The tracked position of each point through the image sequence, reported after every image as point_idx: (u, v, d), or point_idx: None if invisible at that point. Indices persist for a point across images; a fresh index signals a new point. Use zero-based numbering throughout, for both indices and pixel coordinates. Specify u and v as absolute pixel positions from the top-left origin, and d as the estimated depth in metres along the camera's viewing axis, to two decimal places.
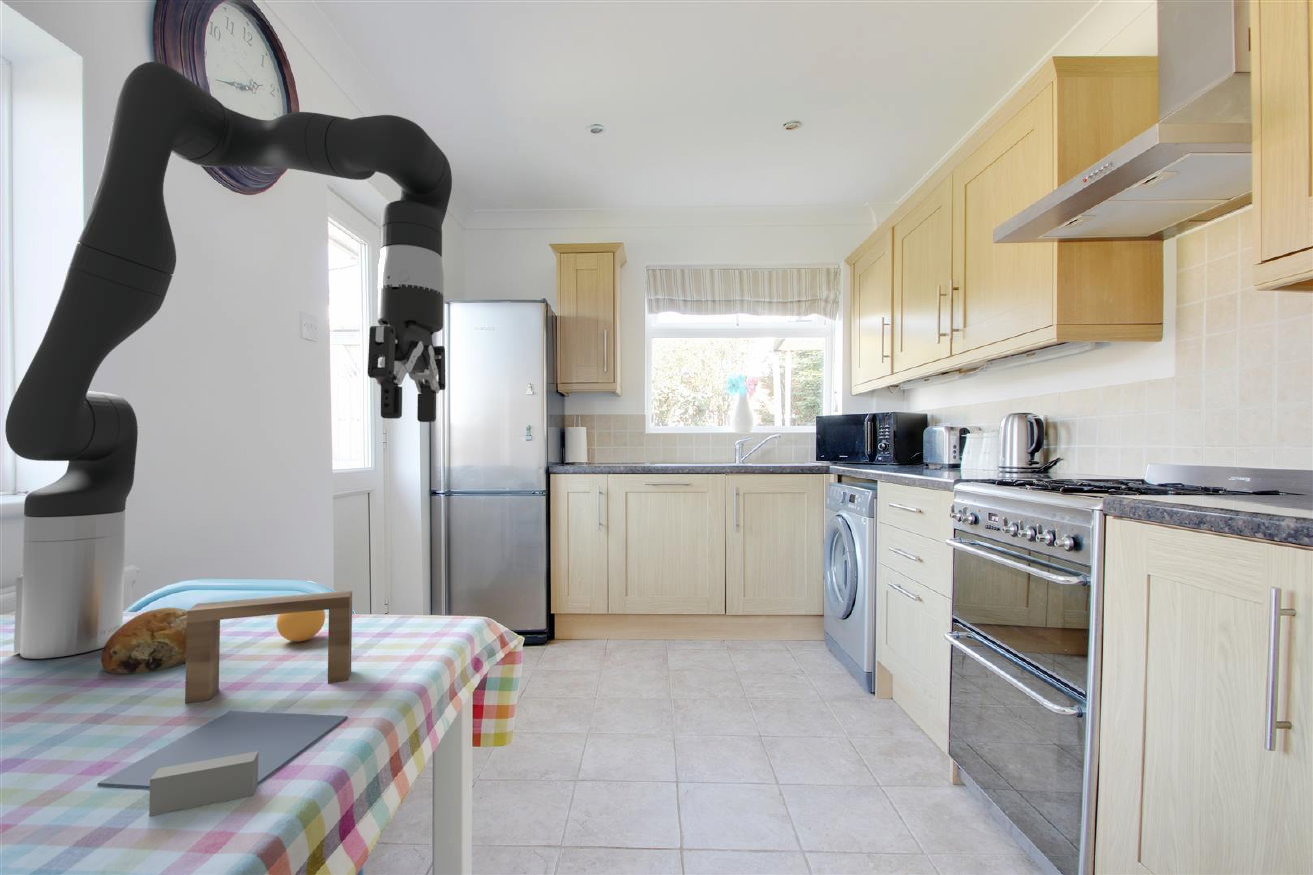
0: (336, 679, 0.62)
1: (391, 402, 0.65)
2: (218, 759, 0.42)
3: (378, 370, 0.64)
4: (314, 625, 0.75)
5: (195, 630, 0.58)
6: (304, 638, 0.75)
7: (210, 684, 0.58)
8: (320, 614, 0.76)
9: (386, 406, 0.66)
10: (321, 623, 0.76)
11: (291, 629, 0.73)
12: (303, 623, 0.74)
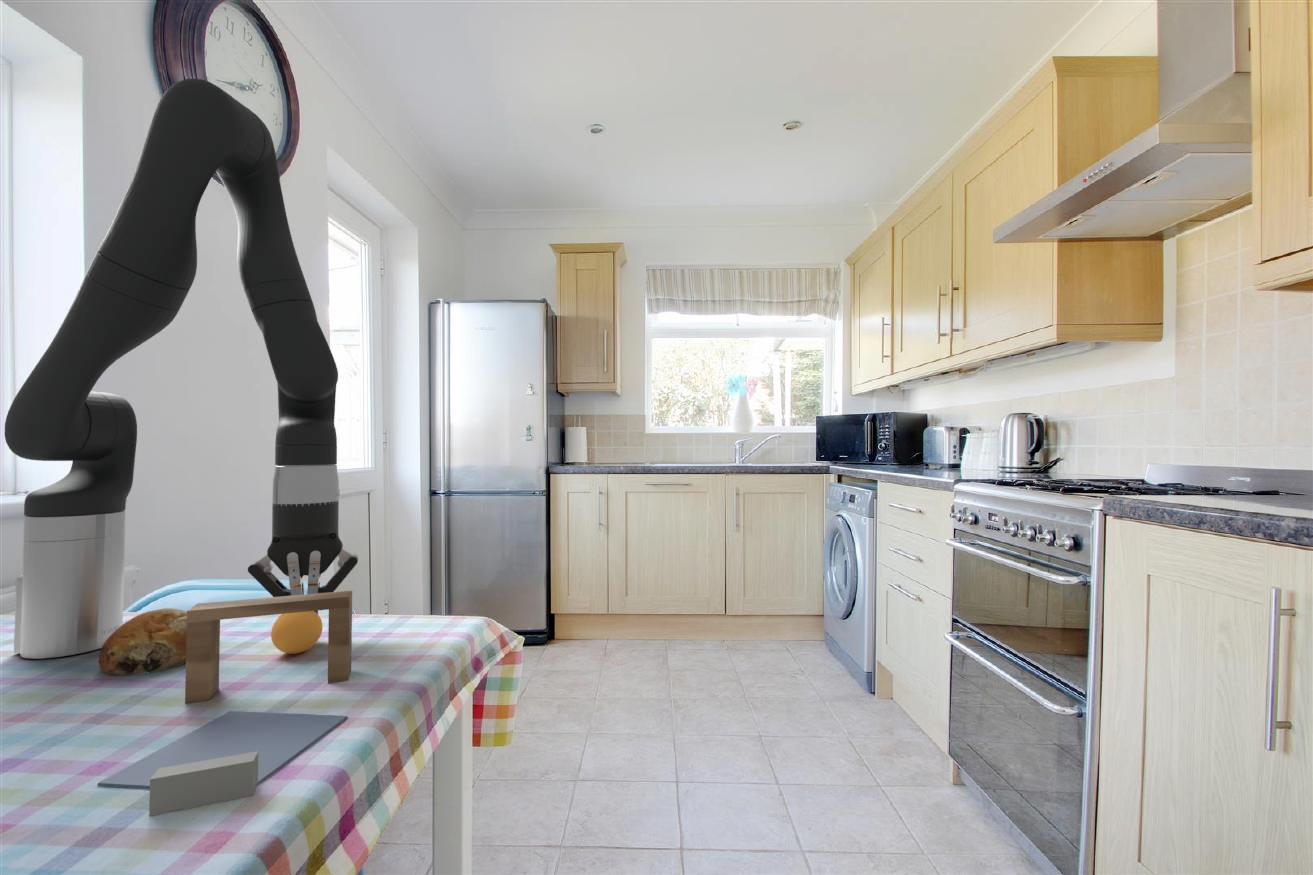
0: (336, 679, 0.62)
1: None
2: (218, 759, 0.42)
3: None
4: None
5: (195, 630, 0.58)
6: None
7: (210, 684, 0.58)
8: (317, 638, 0.72)
9: None
10: None
11: None
12: None
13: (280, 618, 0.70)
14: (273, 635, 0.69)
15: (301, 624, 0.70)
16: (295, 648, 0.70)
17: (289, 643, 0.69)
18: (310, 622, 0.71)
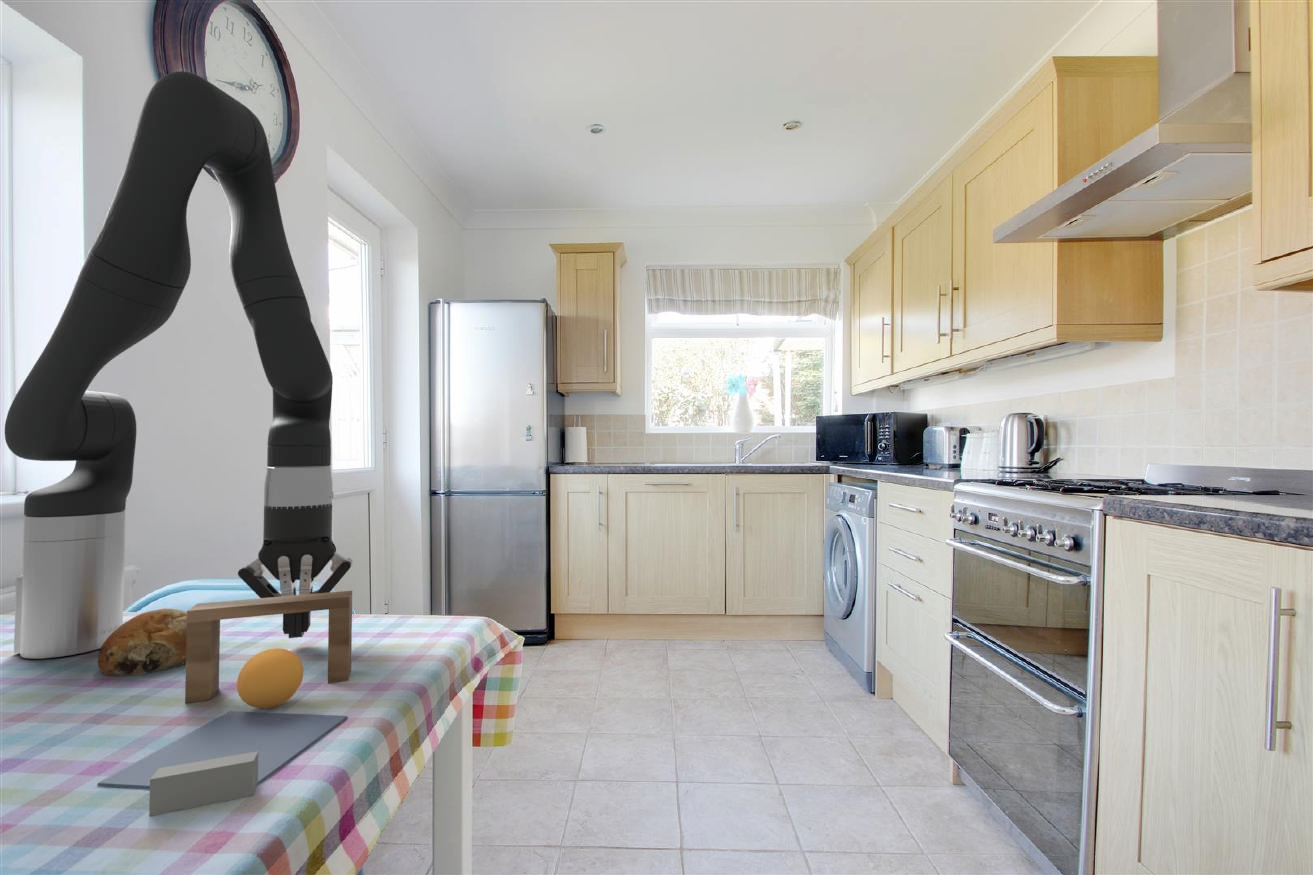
0: (336, 679, 0.62)
1: None
2: (218, 759, 0.42)
3: None
4: (289, 698, 0.57)
5: (195, 630, 0.58)
6: None
7: (210, 684, 0.58)
8: (297, 685, 0.56)
9: None
10: (299, 686, 0.58)
11: None
12: (274, 705, 0.56)
13: (250, 660, 0.56)
14: (239, 681, 0.54)
15: (277, 665, 0.55)
16: (267, 697, 0.54)
17: (259, 690, 0.54)
18: (288, 663, 0.56)
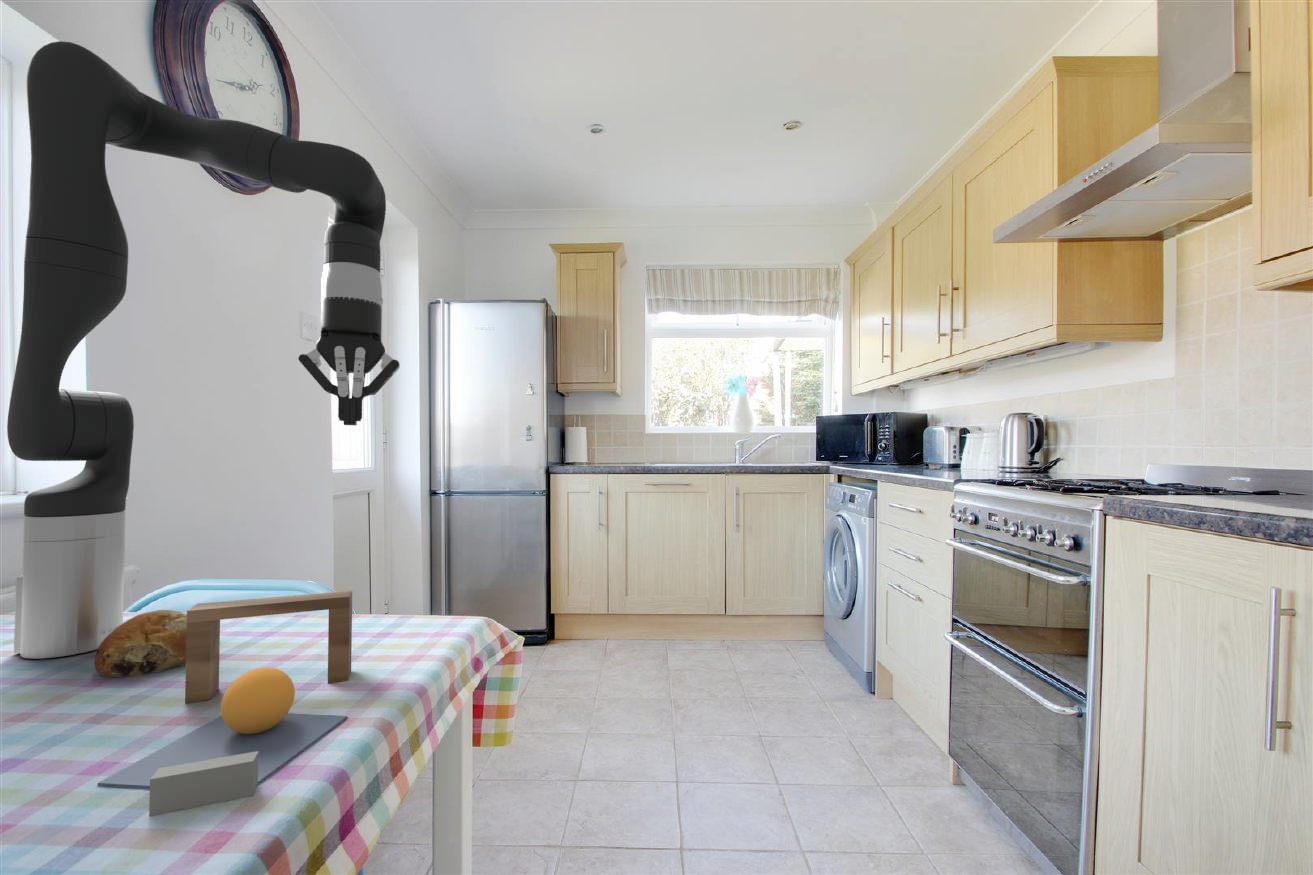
0: (336, 679, 0.62)
1: None
2: (218, 759, 0.42)
3: None
4: None
5: (195, 630, 0.58)
6: None
7: (210, 684, 0.58)
8: None
9: None
10: None
11: None
12: None
13: (231, 726, 0.49)
14: None
15: None
16: None
17: None
18: None
